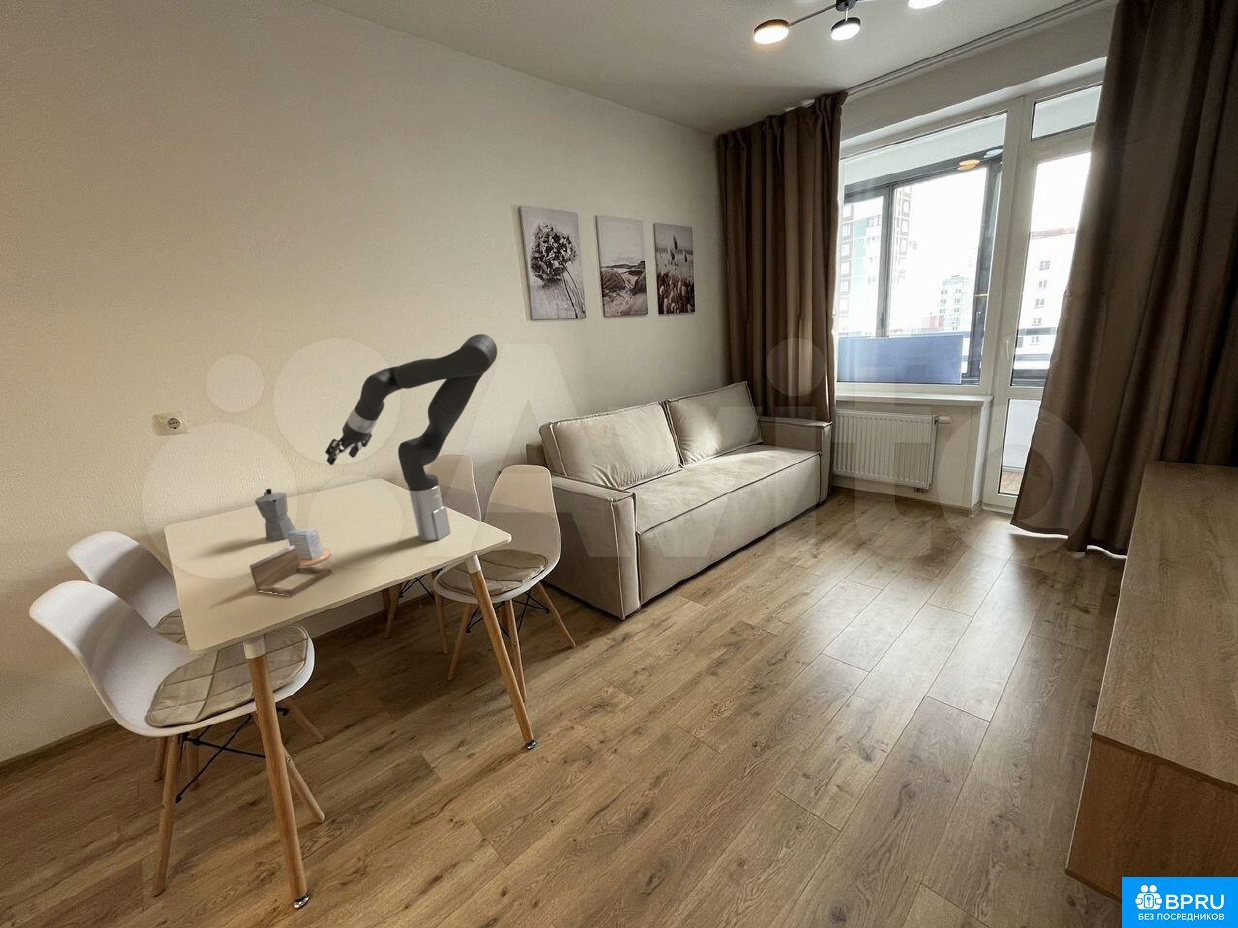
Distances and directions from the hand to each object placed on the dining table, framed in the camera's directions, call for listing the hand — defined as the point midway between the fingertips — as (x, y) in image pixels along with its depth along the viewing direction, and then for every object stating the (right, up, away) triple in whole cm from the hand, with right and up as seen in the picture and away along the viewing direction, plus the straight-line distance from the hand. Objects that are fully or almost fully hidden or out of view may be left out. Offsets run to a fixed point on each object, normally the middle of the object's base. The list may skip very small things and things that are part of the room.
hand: (340, 459), depth 162 cm
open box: (-3, -35, -18) cm, 39 cm away
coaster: (-8, -31, -3) cm, 33 cm away
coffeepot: (-32, -27, +20) cm, 47 cm away
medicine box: (-8, -31, -3) cm, 32 cm away
